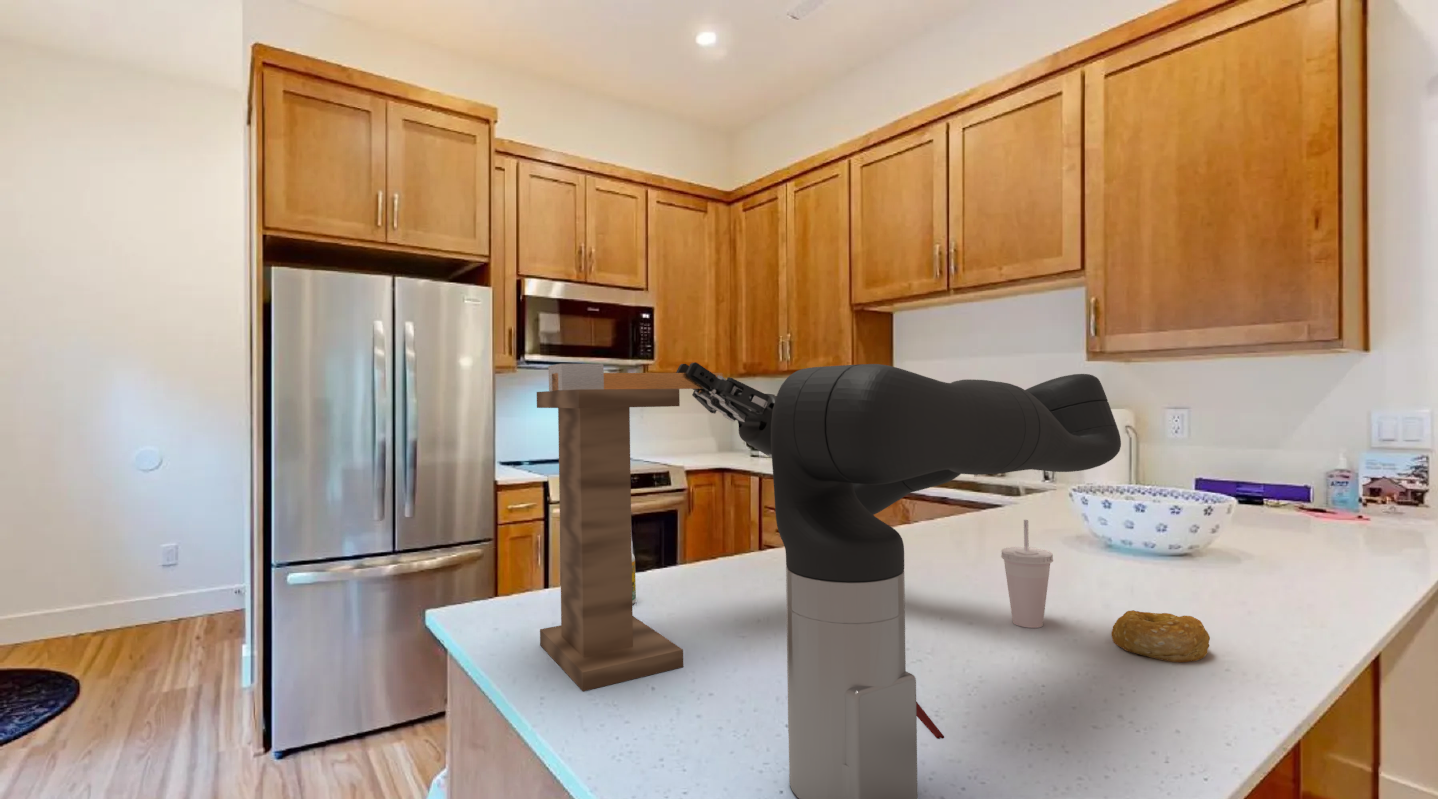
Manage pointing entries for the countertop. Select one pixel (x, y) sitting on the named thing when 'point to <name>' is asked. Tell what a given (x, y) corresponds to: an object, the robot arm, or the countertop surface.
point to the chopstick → (928, 722)
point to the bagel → (1161, 636)
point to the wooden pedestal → (600, 541)
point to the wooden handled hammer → (613, 379)
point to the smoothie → (1027, 581)
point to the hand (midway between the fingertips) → (684, 369)
